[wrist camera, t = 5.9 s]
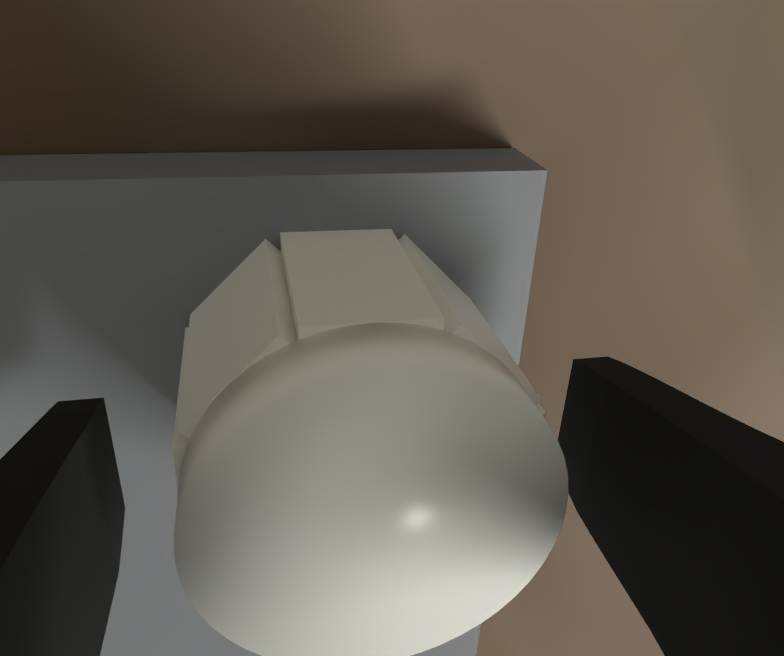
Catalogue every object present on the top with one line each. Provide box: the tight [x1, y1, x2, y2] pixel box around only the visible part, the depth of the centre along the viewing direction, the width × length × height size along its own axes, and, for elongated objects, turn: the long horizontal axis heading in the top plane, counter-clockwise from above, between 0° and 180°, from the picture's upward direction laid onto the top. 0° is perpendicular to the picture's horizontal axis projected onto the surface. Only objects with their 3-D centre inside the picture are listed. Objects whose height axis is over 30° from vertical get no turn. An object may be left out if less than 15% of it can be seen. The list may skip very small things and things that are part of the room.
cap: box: [172, 229, 568, 656], centre depth 10 cm, size 5×5×4 cm
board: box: [0, 148, 547, 656], centre depth 12 cm, size 13×13×4 cm
